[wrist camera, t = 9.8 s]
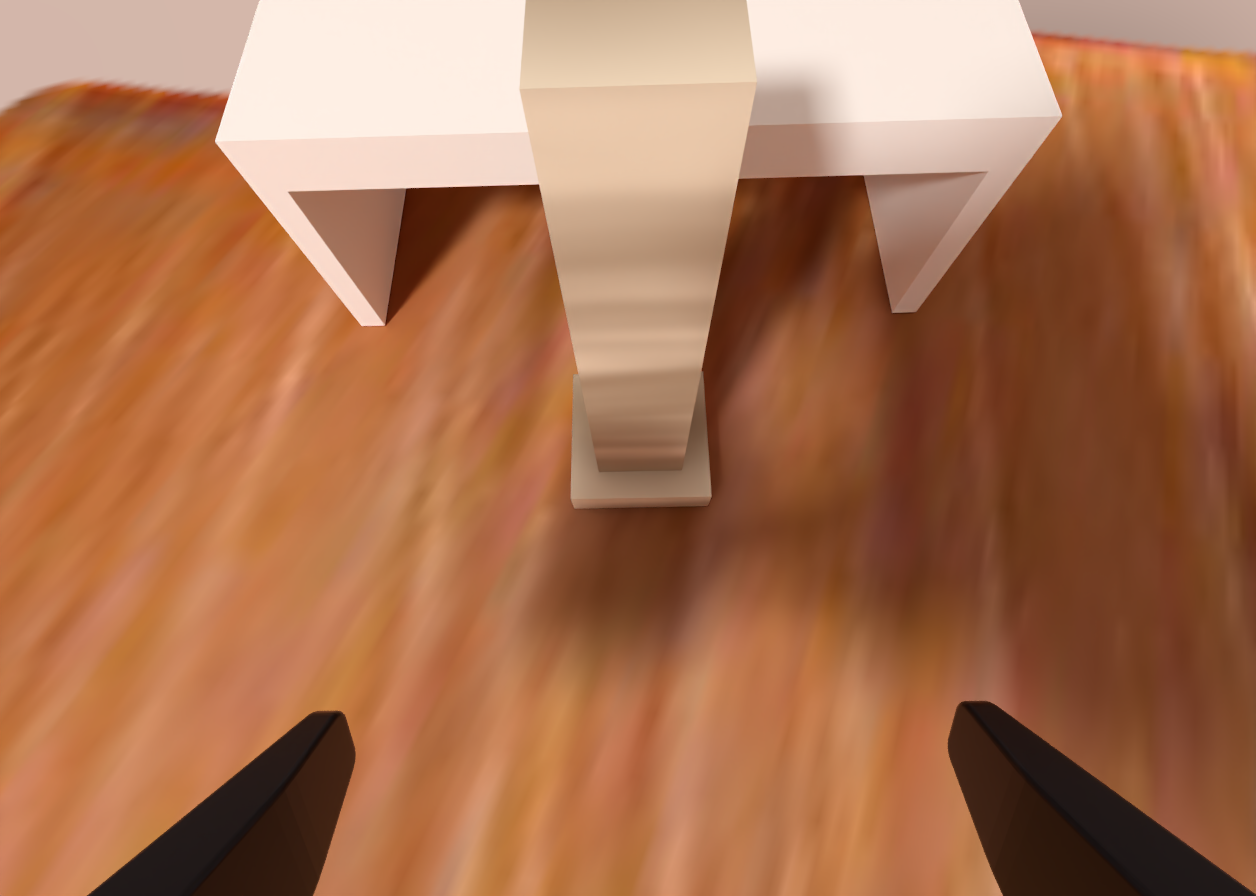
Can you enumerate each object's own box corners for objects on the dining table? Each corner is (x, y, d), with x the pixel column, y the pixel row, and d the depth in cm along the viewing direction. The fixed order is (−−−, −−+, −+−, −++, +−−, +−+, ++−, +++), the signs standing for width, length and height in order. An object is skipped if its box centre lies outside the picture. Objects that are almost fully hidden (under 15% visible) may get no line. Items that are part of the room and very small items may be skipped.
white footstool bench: (915, 312, 20) (1062, 116, 13) (361, 325, 20) (214, 141, 13) (876, 135, 23) (979, -103, 16) (391, 150, 23) (284, -78, 16)
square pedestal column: (758, 504, 18) (1007, 133, 6) (524, 509, 18) (279, 155, 6) (719, 104, 24) (800, -494, 12) (544, 110, 24) (443, -478, 12)
